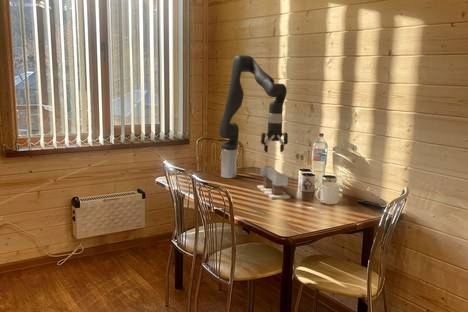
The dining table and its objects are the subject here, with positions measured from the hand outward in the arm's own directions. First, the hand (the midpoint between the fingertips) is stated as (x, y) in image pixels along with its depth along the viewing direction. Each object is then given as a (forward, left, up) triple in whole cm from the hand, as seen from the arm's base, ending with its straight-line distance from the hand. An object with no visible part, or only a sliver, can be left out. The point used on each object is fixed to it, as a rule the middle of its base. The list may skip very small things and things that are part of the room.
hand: (273, 152), depth 243 cm
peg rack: (+1, 0, -22) cm, 22 cm away
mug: (+23, +21, -22) cm, 38 cm away
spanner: (0, 0, -15) cm, 15 cm away
